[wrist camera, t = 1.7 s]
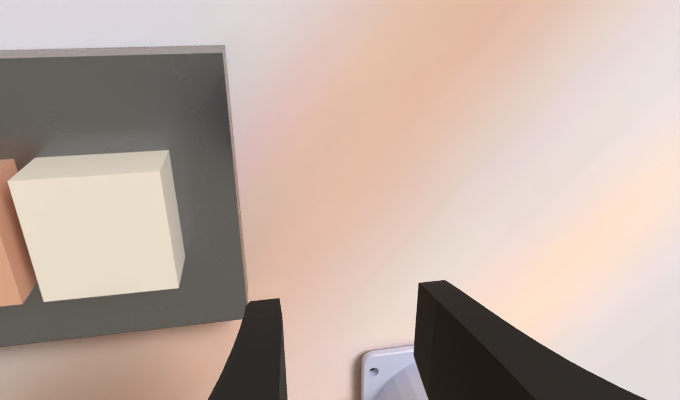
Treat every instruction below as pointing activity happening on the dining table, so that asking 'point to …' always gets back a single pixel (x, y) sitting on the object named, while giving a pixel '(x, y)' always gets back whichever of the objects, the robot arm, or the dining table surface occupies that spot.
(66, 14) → the dining table surface
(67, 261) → the tile
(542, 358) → the robot arm
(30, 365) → the dining table surface
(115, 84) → the slate plate
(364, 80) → the dining table surface
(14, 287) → the tile
